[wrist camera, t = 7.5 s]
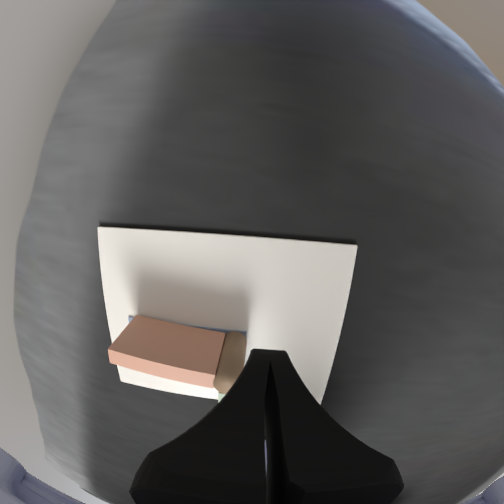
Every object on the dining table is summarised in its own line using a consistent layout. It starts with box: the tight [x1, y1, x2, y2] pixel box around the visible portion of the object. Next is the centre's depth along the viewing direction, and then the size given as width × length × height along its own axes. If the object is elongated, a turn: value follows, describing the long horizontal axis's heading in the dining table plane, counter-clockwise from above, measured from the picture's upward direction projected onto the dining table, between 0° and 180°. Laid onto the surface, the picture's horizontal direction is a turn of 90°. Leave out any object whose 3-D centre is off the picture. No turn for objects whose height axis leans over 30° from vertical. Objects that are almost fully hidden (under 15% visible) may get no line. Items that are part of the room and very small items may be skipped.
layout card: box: [98, 226, 357, 405], centre depth 21 cm, size 15×19×1 cm
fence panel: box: [108, 315, 247, 394], centre depth 19 cm, size 9×2×5 cm, turn 82°
